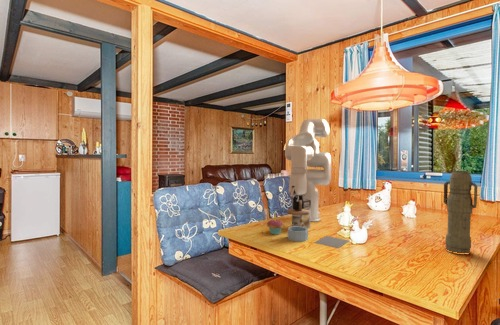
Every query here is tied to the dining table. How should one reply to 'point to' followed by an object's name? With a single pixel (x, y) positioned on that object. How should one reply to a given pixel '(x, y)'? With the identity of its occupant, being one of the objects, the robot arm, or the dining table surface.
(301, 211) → the lid
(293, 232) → the bowl
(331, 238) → the mat
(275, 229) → the cupcake
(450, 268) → the dining table surface
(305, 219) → the coffee box
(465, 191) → the thermos
